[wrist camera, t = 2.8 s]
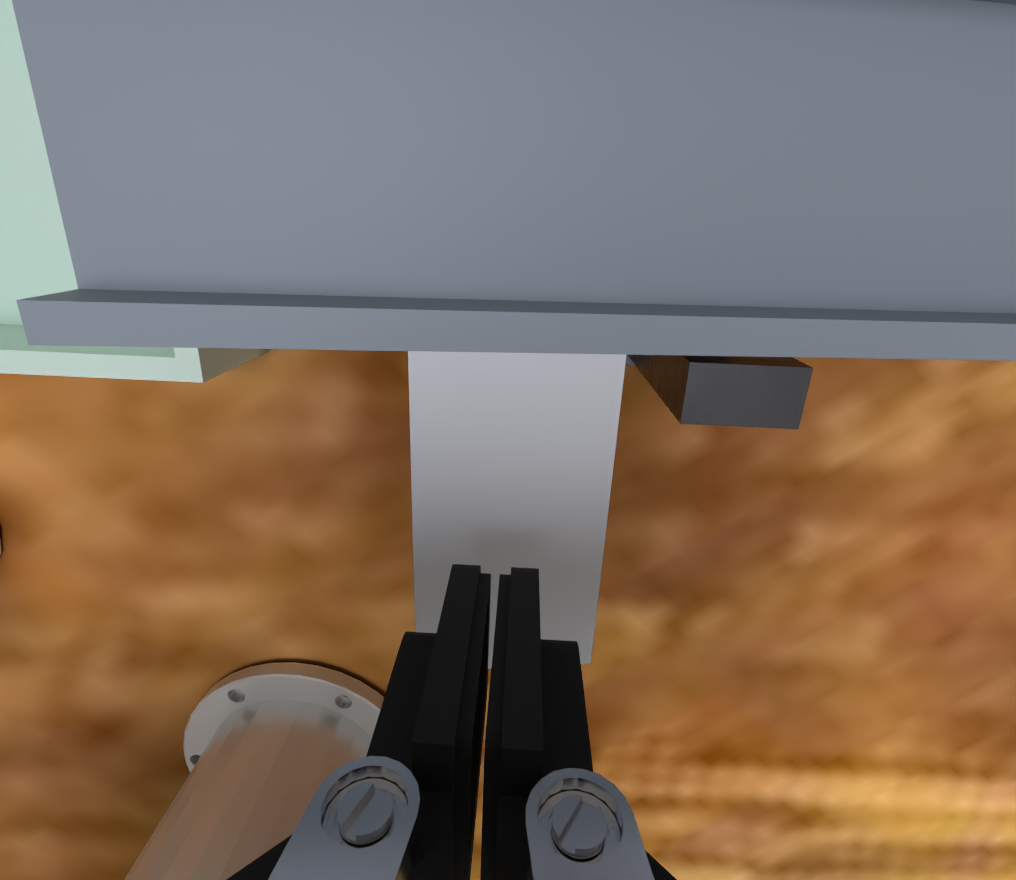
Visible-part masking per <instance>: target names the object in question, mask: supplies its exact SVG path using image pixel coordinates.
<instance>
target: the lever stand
mask: <svg viewBox="0 0 1016 880" xmlns="http://www.w3.org/2000/svg"><path fill="white" fill-rule="evenodd" d="M625 365H635V366H636V367H637V368H638V369H639V371H640V372H641V373H642V375H643V376H644V377H645V378H646V380H647V381H648V382H649V384H650V385H651V386H652V388H653V389H654V390H655V391H656V393H657V394H658V395H659V397H660V398H661V399H662V400H663V402H664V403H665V404H666V406H667V407H668V408H669V409H670V411H671V412H672V413H673V415H674V416H675V417H676V419H677V420H678V421H679V422H680V424H699V425H720V426H742V427H763V428H784V429H799V424H800V420H801V416H802V412H803V408H804V404H805V399H806V395H807V391H808V387H809V383H810V378H811V374H812V370H813V368H812V367H810V366H808V365H806V364H804V363H802V362H800V361H798V360H796V359H794V358H792V357H752V356H688V355H626V363H625Z"/></svg>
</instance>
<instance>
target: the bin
mask: <svg viewBox="0 0 1016 880" xmlns="http://www.w3.org/2000/svg"><path fill="white" fill-rule="evenodd" d="M76 289H78V286H77V281H76V277H75V273H74V268H73V264H72V260H71V255H70V251H69V247H68V242H67V238H66V234H65V229H64V225H63V220H62V216H61V212H60V207H59V203H58V199H57V194H56V190H55V186H54V181H53V177H52V173H51V168H50V164H49V160H48V155H47V151H46V147H45V142H44V138H43V134H42V129H41V125H40V121H39V116H38V112H37V108H36V103H35V99H34V94H33V90H32V86H31V81H30V77H29V73H28V68H27V64H26V60H25V55H24V51H23V47H22V42H21V38H20V34H19V29H18V25H17V21H16V16H15V12H14V8H13V3H12V0H0V373H9V374H31V375H52V376H73V377H95V378H116V379H137V380H159V381H180V382H201V383H203V382H206V381H208V380H210V379H212V378H214V377H216V376H218V375H220V374H222V373H224V372H226V371H229V370H231V369H233V368H235V367H237V366H239V365H241V364H243V363H245V362H247V361H249V360H252V359H254V358H256V357H258V356H260V355H262V354H264V353H266V352H268V351H269V350H268V349H240V348H176V347H112V346H48V345H28V342H27V338H26V334H25V331H24V327H23V323H22V320H21V316H20V312H19V309H18V305H17V301H16V300H20V299H25V298H31V297H37V296H42V295H48V294H53V293H59V292H65V291H70V290H76Z"/></svg>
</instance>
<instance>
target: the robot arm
mask: <svg viewBox="0 0 1016 880" xmlns="http://www.w3.org/2000/svg"><path fill="white" fill-rule="evenodd" d="M490 594H491V574H489V573H481V566H480V565H463V564H453V565H452V568H451V572H450V576H449V581H448V585H447V590H446V594H445V598H444V603H443V607H442V611H441V616H440V620H439V624H438V629H437V633H422V632H406V633H405V634H404V636H403V639H402V642H401V645H400V648H399V651H398V655H397V658H396V661H395V664H394V668H393V671H392V674H391V677H390V681H389V684H388V687H387V690H386V694H385V697H383V696H382V695H381V694H380V693H378V692H377V691H375V690H374V689H372V688H371V687H369V686H367V685H366V684H364V683H363V682H361V681H359V680H357V679H355V678H353V677H350V676H348V675H346V674H344V673H342V672H339V671H336V670H332V669H328V668H325V667H321V666H318V665H310V664H303V663H295V662H285V663H267V664H262V665H256V666H251V667H248V668H245V669H243V670H240V671H237V672H235V673H232V674H230V675H228V676H227V677H225V678H224V679H222V680H221V681H219V682H217V683H216V684H215V685H214V686H213V687H212V688H211V689H210V690H209V691H208V692H207V693H206V694H205V695H204V696H203V697H202V699H201V700H200V702H199V703H198V705H197V706H196V708H195V709H194V711H193V712H192V714H191V715H190V718H189V720H188V723H187V725H186V728H185V730H184V741H183V750H184V757H185V762H186V764H187V767H188V769H189V771H190V774H189V776H188V777H187V779H186V780H185V782H184V784H183V785H182V787H181V789H180V790H179V792H178V793H177V795H176V797H175V798H174V800H173V801H172V803H171V805H170V806H169V808H168V810H167V811H166V813H165V814H164V816H163V818H162V819H161V821H160V822H159V824H158V826H157V827H156V829H155V831H154V832H153V834H152V835H151V837H150V839H149V840H148V842H147V843H146V845H145V847H144V848H143V850H142V852H141V853H140V855H139V856H138V858H137V860H136V861H135V863H134V864H133V866H132V868H131V869H130V871H129V873H128V874H127V876H126V877H125V879H124V880H470V874H471V863H472V852H473V841H474V831H475V820H476V809H477V798H478V787H479V776H480V765H481V754H482V743H483V732H484V722H485V711H486V700H487V684H488V655H489V625H490ZM481 880H676V879H675V878H674V877H673V876H672V875H671V874H670V873H669V872H668V871H667V870H666V869H665V868H664V867H662V866H661V865H660V864H659V863H658V862H657V861H656V860H655V859H654V858H653V857H652V856H651V855H650V854H649V853H647V852H646V851H645V849H644V846H643V843H642V840H641V837H640V833H639V830H638V827H637V824H636V821H635V818H634V815H633V812H632V810H631V808H630V806H629V804H628V802H627V800H626V798H625V796H624V795H623V794H622V793H621V792H620V791H619V790H618V788H617V787H616V786H615V785H614V784H613V783H611V782H610V781H608V780H607V779H605V778H604V777H603V776H601V775H600V774H597V773H594V772H593V767H592V758H591V750H590V741H589V732H588V724H587V715H586V706H585V697H584V689H583V680H582V671H581V663H580V654H579V647H578V643H577V641H563V640H546V639H541V633H540V593H539V569H537V568H518V567H511V575H507V574H500V577H499V588H498V599H497V611H496V622H495V634H494V645H493V657H492V668H491V680H490V691H489V703H488V714H487V726H486V739H485V757H484V786H483V818H482V849H481Z"/></svg>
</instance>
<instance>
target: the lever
mask: <svg viewBox="0 0 1016 880" xmlns="http://www.w3.org/2000/svg"><path fill="white" fill-rule="evenodd" d="M12 3H13V8H14V12H15V16H16V21H17V25H18V29H19V34H20V38H21V42H22V47H23V51H24V55H25V60H26V64H27V68H28V73H29V77H30V81H31V86H32V90H33V94H34V99H35V103H36V108H37V112H38V116H39V121H40V125H41V129H42V134H43V138H44V142H45V147H46V151H47V155H48V160H49V164H50V168H51V173H52V177H53V181H54V186H55V190H56V194H57V199H58V203H59V207H60V212H61V216H62V220H63V225H64V229H65V234H66V238H67V242H68V247H69V251H70V255H71V260H72V264H73V268H74V273H75V277H76V281H77V286H78V289H76V290H70V291H65V292H59V293H53V294H48V295H42V296H37V297H31V298H25V299H20V300H16V301H17V305H18V309H19V312H20V316H21V320H22V323H23V327H24V331H25V334H26V338H27V342H28V345H48V346H112V347H176V348H240V349H304V350H368V351H408V369H409V408H410V447H411V486H412V524H413V563H414V602H415V632H422V633H437V629H438V624H439V620H440V616H441V611H442V607H443V603H444V598H445V594H446V590H447V585H448V581H449V576H450V572H451V568H452V565H453V564H463V565H480V566H481V573H489V574H491V594H490V625H489V655H488V669H491V668H492V657H493V645H494V634H495V622H496V611H497V599H498V588H499V577H500V574H507V575H511V567H518V568H537V569H539V593H540V633H541V639H546V640H563V641H577V643H578V647H579V654H580V663H581V664H591V656H592V647H593V639H594V630H595V621H596V613H597V604H598V596H599V587H600V578H601V570H602V561H603V552H604V544H605V535H606V527H607V518H608V509H609V501H610V492H611V483H612V475H613V466H614V458H615V449H616V440H617V432H618V423H619V414H620V406H621V397H622V389H623V380H624V371H625V363H626V355H688V356H752V357H816V358H880V359H944V360H1008V361H1016V0H12Z"/></svg>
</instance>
